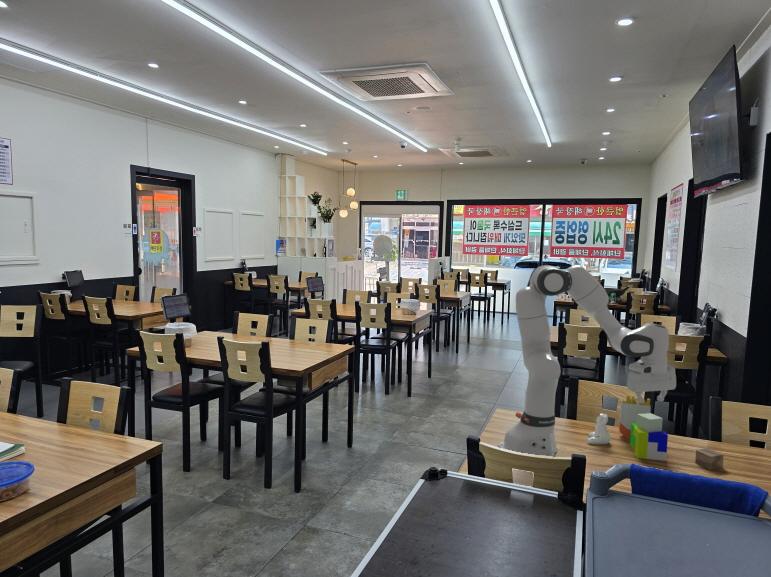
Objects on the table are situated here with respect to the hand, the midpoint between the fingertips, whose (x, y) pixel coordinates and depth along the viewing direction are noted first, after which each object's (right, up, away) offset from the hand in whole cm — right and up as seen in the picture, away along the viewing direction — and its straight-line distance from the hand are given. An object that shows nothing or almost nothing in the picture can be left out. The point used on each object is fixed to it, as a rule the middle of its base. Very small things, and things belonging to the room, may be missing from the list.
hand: (650, 401), depth 191 cm
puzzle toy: (0, -21, +2) cm, 21 cm away
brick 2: (+17, -22, -7) cm, 29 cm away
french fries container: (+2, -19, +18) cm, 27 cm away
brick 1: (0, -11, +1) cm, 11 cm away
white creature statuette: (-14, -20, +13) cm, 27 cm away
